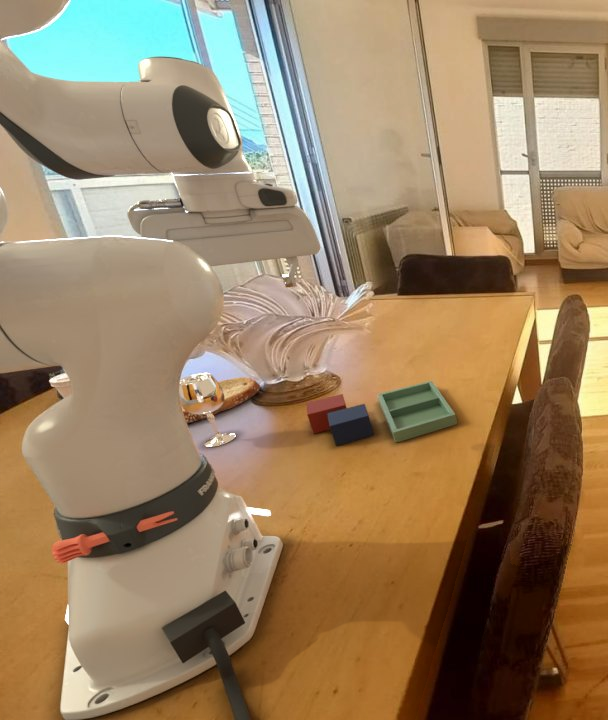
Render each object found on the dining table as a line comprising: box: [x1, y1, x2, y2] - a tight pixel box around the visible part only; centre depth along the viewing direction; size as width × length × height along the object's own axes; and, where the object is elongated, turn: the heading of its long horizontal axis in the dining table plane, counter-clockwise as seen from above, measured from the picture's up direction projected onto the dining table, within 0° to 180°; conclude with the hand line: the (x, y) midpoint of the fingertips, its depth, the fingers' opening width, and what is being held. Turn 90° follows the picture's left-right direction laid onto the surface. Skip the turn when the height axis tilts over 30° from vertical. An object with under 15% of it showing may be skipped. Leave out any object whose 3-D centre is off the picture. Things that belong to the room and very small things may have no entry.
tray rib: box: [390, 397, 440, 418], centre depth 90 cm, size 1×9×2 cm, turn 124°
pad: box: [327, 403, 375, 447], centre depth 84 cm, size 6×6×4 cm
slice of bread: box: [181, 376, 261, 425], centre depth 95 cm, size 18×18×4 cm
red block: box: [305, 393, 347, 435], centre depth 88 cm, size 6×6×4 cm
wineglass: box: [179, 372, 237, 448], centre depth 82 cm, size 6×6×12 cm
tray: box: [376, 380, 458, 444], centre depth 90 cm, size 18×11×2 cm, turn 33°
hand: (254, 291), depth 72 cm, fingers open, 8 cm apart
